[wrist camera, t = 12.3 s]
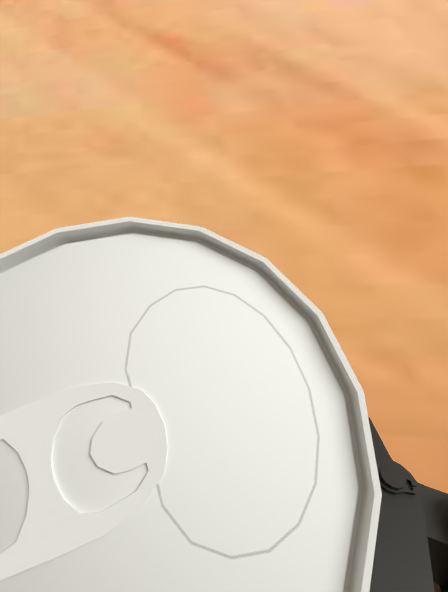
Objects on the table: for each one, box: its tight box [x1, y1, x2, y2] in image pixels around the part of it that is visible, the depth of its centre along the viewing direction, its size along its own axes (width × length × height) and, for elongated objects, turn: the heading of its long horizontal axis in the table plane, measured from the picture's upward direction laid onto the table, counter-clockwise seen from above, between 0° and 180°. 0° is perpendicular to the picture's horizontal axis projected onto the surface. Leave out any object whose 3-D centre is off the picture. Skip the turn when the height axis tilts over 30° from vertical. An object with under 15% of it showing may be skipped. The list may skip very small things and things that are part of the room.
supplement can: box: [0, 217, 382, 592], centre depth 11 cm, size 8×8×15 cm
